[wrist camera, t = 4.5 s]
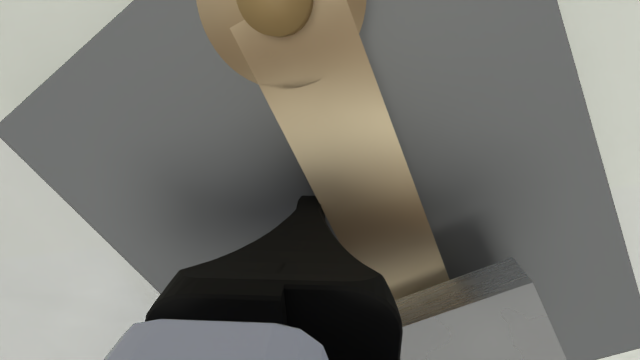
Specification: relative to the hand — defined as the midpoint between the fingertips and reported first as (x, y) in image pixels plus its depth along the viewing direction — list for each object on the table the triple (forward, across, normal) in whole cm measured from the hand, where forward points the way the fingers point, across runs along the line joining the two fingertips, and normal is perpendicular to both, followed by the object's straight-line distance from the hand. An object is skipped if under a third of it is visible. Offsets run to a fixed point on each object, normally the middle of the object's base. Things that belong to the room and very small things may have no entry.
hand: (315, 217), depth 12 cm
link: (0, -2, -2) cm, 3 cm away
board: (+2, -1, +2) cm, 3 cm away
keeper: (+1, -7, +5) cm, 8 cm away
